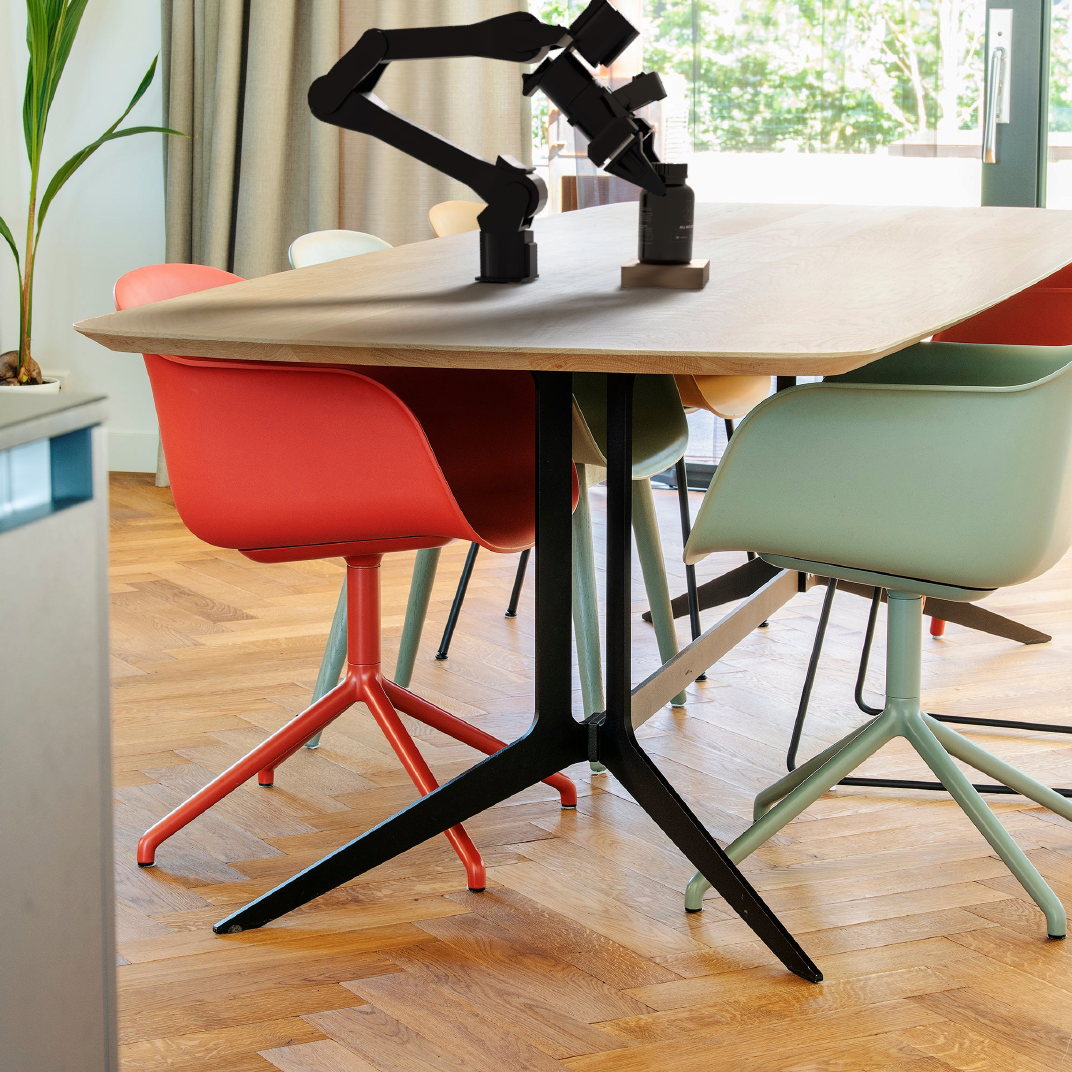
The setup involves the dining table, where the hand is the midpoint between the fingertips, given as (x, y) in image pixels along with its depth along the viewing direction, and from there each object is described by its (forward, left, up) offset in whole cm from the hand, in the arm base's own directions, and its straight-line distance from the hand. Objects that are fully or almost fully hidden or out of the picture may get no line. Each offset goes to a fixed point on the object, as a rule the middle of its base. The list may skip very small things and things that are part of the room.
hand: (668, 191), depth 160 cm
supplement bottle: (0, 0, -9) cm, 9 cm away
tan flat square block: (0, 0, -11) cm, 11 cm away
